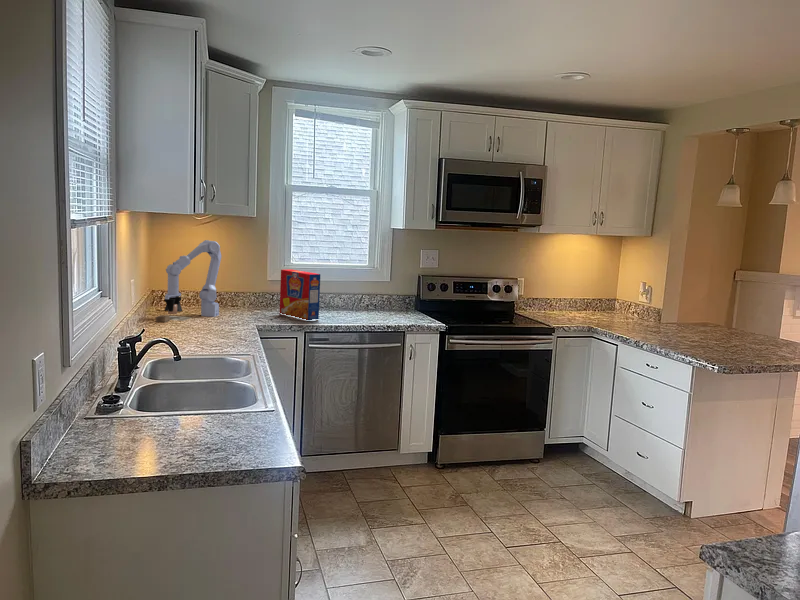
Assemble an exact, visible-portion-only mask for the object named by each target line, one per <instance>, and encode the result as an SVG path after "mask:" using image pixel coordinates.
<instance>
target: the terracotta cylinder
mask: <svg viewBox="0 0 800 600" xmlns="http://www.w3.org/2000/svg"><path fill="white" fill-rule="evenodd" d="M167 314H168V315H177V314H178V312H177V304H174V306H173V311H172V312H171V311H167Z"/></svg>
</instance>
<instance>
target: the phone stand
mask: <svg viewBox="0 0 800 600" xmlns="http://www.w3.org/2000/svg"><path fill="white" fill-rule="evenodd" d="M165 304H166V303H165ZM164 311H165V312H168V307H167V304H166V305H165V307H164ZM181 311H182V312H183V308H182V305H181V301H180V302H179V305H178V309H177V313H182V312H181Z"/></svg>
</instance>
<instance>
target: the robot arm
mask: <svg viewBox="0 0 800 600" xmlns="http://www.w3.org/2000/svg"><path fill="white" fill-rule="evenodd" d="M202 253H206V254H208V255H209V257H210V262H209V266H208V271H207V275H206V276H207V277H206V278H205V279H206V280H205V284H203V286H202V287H201V288H202V289H201V290H200V292H199V298H200V301H201V305H200V306H201V307H200V315H201V316H202V317H210V318H213V317H214V318H216V317H219V315H220V305H219V303H218V302H215V301H216V300H217V296H218V295H217V287H216V283H217V279H218V274H219V269H220V265H221V261H222V253H221V246H220V244H219V243H218V242H217V241H215V240H209V239H206V240H203V241H202V242H200V243H199V244H198V245H197V246H196V247H195V248H194V249H193V250H192V251H190V252H189V253H188V254H186V255H180V256H179V257H178V259H177V260H175V261H173V262H172V264H169V265H167V267H166V268H165V271H166V274H167V293H165V295H164V302H165V304H167V307H168V311H171V312H172V311H173V306H174V304H177V309H178V305H179V302H180V303H181V301H182V292H180V291H179V290H180V289H179V288H180V287H179V286H180V274H181V273H182V270H184V269H185V268H186V267H187V266H189V265H190V264H191V261H192V260H193V259H195V258H196V257H198V256H199V255H201V254H202ZM168 311H167V312H168Z"/></svg>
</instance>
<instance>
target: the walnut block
mask: <svg viewBox="0 0 800 600" xmlns="http://www.w3.org/2000/svg"><path fill="white" fill-rule="evenodd" d="M170 316H171V315H169V316H166V315H161V314H160V315H157V316H156V317H155V323H168V322H170Z"/></svg>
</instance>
